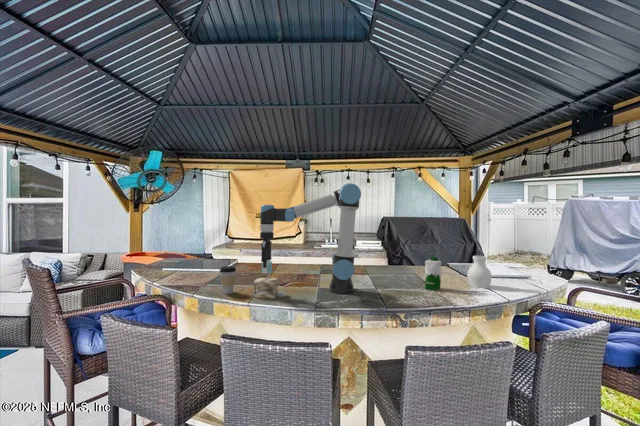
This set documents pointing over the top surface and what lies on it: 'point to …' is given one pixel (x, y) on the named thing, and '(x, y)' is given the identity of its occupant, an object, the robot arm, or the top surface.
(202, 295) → the top surface
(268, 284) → the tunnel
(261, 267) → the block
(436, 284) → the milk carton
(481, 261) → the vase
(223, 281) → the coffee cup
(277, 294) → the rod
